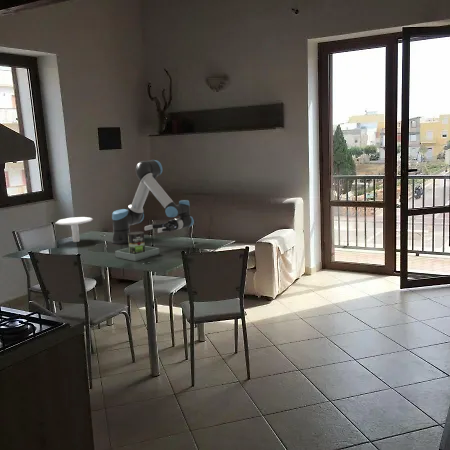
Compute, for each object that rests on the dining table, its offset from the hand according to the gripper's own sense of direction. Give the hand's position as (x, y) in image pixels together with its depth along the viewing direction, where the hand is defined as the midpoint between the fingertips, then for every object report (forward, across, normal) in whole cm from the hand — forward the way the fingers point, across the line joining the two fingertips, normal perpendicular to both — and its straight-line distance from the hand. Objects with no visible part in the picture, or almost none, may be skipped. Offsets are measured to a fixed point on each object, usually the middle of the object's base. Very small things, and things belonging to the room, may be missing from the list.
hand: (151, 229), depth 322 cm
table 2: (+11, +78, -16) cm, 80 cm away
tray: (+14, -1, -15) cm, 20 cm away
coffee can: (+14, -1, -14) cm, 19 cm away
